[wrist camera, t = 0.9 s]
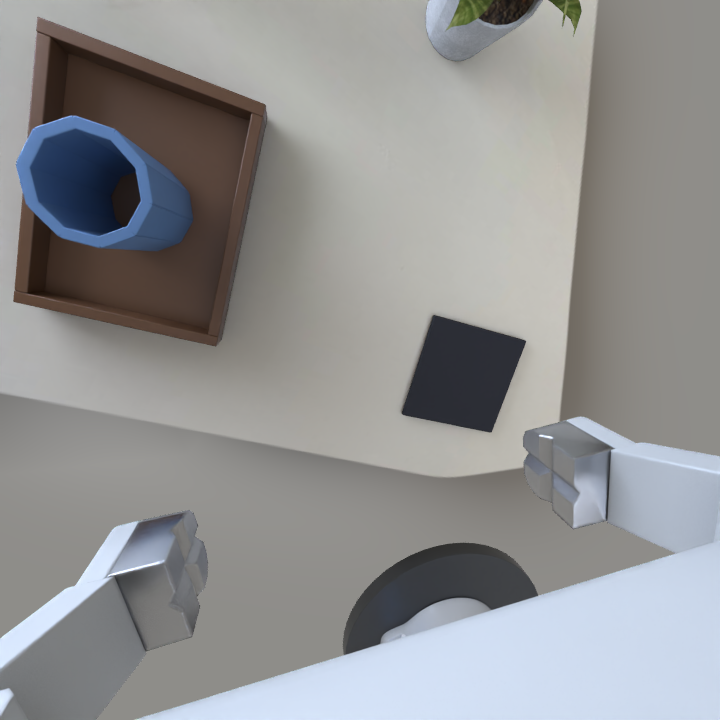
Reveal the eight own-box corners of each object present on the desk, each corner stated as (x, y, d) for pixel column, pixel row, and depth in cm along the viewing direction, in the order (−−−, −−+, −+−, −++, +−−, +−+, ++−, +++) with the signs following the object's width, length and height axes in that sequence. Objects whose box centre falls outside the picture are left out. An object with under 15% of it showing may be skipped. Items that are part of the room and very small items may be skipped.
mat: (488, 430, 39) (491, 432, 38) (401, 413, 37) (403, 415, 36) (523, 339, 37) (526, 341, 36) (433, 314, 34) (435, 315, 34)
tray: (221, 340, 32) (216, 346, 29) (35, 298, 28) (12, 301, 26) (267, 117, 28) (265, 104, 26) (61, 39, 25) (36, 15, 22)
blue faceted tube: (186, 259, 29) (144, 260, 20) (96, 235, 27) (10, 224, 19) (200, 179, 28) (161, 144, 19) (107, 149, 26) (20, 97, 18)
